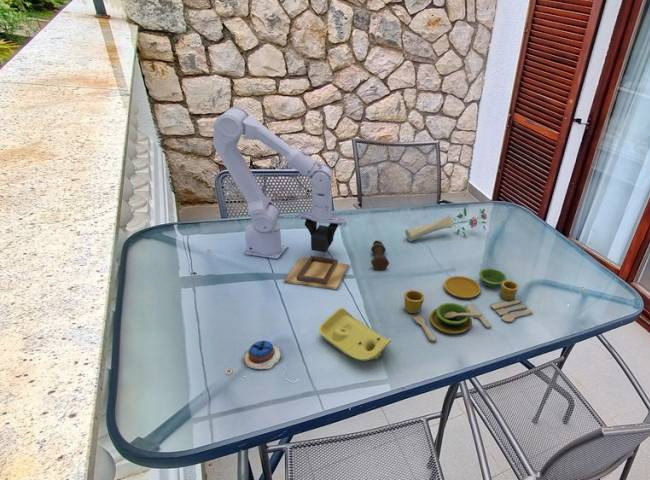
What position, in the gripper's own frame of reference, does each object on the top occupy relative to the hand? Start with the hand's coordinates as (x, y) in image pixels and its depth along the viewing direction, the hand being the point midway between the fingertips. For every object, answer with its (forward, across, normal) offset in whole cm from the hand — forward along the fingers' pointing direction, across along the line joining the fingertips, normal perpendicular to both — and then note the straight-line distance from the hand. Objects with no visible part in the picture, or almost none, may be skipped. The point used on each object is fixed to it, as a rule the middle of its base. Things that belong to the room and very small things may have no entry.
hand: (322, 241), depth 140 cm
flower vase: (+5, -40, -29) cm, 50 cm away
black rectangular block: (+1, 0, 0) cm, 1 cm away
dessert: (+6, -1, +51) cm, 51 cm away
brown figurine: (+5, -18, -3) cm, 19 cm away
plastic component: (+5, -21, +43) cm, 48 cm away
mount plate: (+5, -2, +12) cm, 13 cm away
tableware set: (+5, -50, +17) cm, 53 cm away
